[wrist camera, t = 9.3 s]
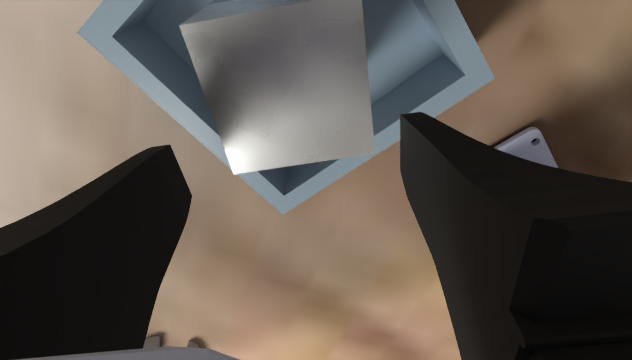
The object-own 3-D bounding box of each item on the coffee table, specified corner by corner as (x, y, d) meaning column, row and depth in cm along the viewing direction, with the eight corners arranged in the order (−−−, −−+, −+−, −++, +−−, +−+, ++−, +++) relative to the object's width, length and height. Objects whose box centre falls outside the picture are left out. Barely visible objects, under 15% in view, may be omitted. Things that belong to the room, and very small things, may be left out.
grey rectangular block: (340, -35, 17) (360, -9, 10) (352, 73, 20) (375, 153, 13) (232, -14, 17) (178, 25, 10) (260, 89, 20) (233, 174, 13)
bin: (464, 53, 20) (495, 78, 16) (286, 176, 24) (282, 215, 21) (317, -216, 14) (318, -261, 10) (118, 14, 18) (76, 32, 15)
